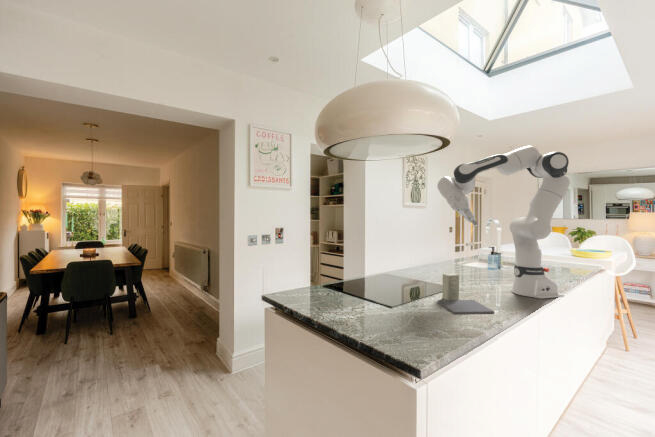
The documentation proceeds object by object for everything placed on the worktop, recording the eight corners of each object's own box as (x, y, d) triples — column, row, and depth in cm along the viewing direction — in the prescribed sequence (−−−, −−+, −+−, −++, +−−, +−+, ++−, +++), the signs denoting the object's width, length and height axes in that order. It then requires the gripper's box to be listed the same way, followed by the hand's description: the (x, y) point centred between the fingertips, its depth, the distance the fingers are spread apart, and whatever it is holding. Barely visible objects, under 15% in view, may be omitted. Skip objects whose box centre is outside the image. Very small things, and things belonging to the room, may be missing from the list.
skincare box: (453, 297, 146) (454, 272, 146) (459, 300, 142) (459, 274, 142) (441, 298, 145) (442, 273, 145) (447, 301, 141) (447, 275, 141)
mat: (473, 301, 140) (473, 299, 140) (493, 313, 124) (494, 311, 124) (437, 302, 139) (437, 300, 139) (453, 313, 123) (453, 312, 123)
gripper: (459, 190, 147) (476, 211, 139) (468, 205, 162) (484, 225, 154) (447, 198, 149) (464, 219, 141) (457, 212, 164) (473, 231, 156)
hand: (474, 222), depth 148 cm, fingers open, 8 cm apart
